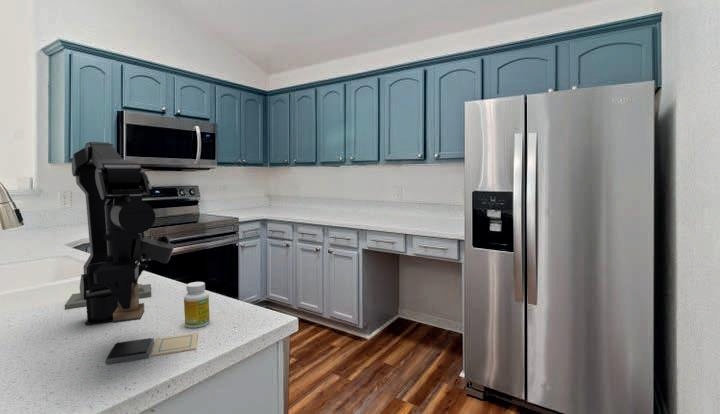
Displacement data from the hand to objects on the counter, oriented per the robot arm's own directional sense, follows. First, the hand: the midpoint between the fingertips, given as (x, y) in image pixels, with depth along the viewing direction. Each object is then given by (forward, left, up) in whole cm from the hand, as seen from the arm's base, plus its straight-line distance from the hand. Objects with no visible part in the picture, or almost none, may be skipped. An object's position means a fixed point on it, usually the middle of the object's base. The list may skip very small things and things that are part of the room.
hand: (128, 305), depth 74 cm
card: (+8, +1, -10) cm, 13 cm away
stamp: (0, 0, -2) cm, 2 cm away
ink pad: (0, 0, -10) cm, 10 cm away
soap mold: (-12, +40, -11) cm, 44 cm away
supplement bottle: (+12, +11, -10) cm, 19 cm away
